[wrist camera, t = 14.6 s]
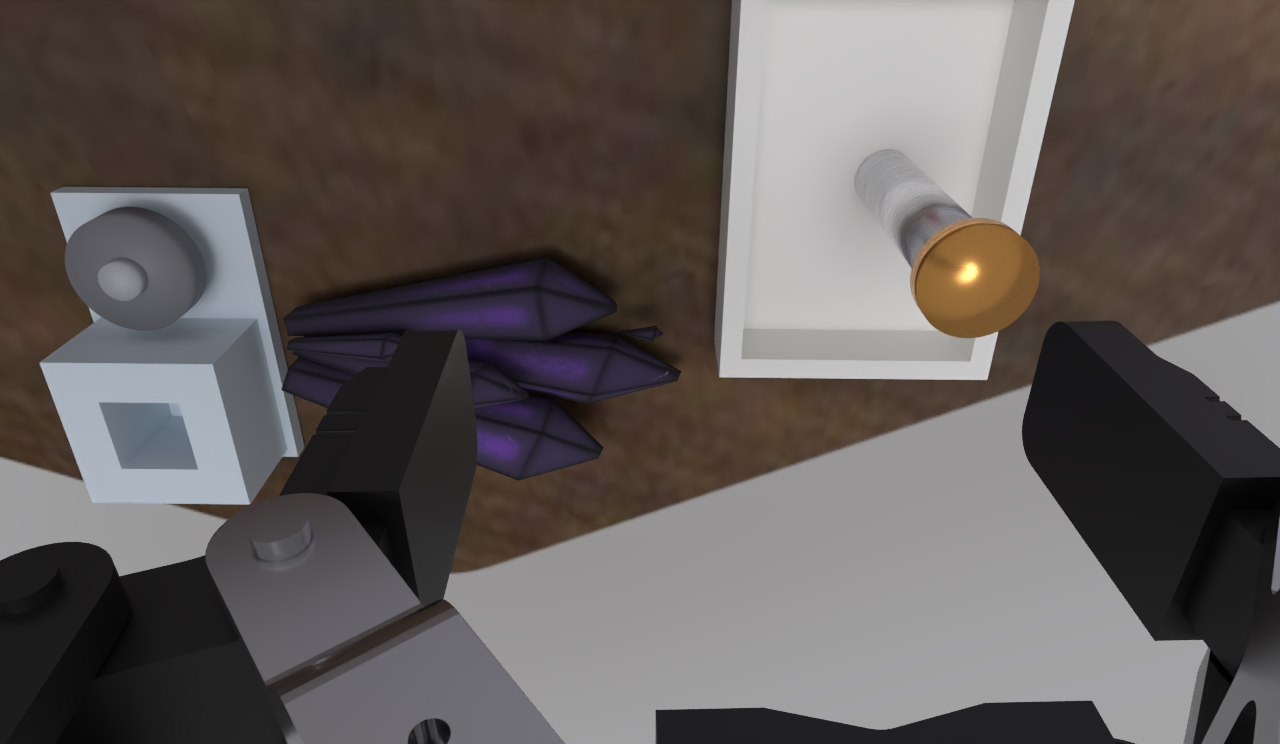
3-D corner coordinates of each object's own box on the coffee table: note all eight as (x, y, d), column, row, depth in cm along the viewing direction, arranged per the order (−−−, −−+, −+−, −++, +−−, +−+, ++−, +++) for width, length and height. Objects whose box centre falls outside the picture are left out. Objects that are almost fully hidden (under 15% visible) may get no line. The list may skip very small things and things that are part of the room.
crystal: (258, 472, 42) (660, 528, 41) (241, 244, 37) (691, 303, 36) (321, 412, 48) (668, 459, 47) (313, 212, 44) (695, 261, 43)
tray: (733, -38, 36) (743, -33, 32) (1039, -36, 36) (1081, -30, 32) (713, 340, 45) (719, 377, 41) (960, 343, 44) (987, 380, 41)
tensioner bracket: (63, 186, 41) (-24, 226, 36) (247, 188, 41) (188, 228, 36) (147, 445, 48) (85, 510, 43) (304, 446, 48) (261, 512, 43)
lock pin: (846, 135, 39) (928, 226, 27) (934, 136, 39) (1052, 228, 27) (836, 219, 41) (909, 337, 29) (919, 220, 41) (1024, 338, 29)
